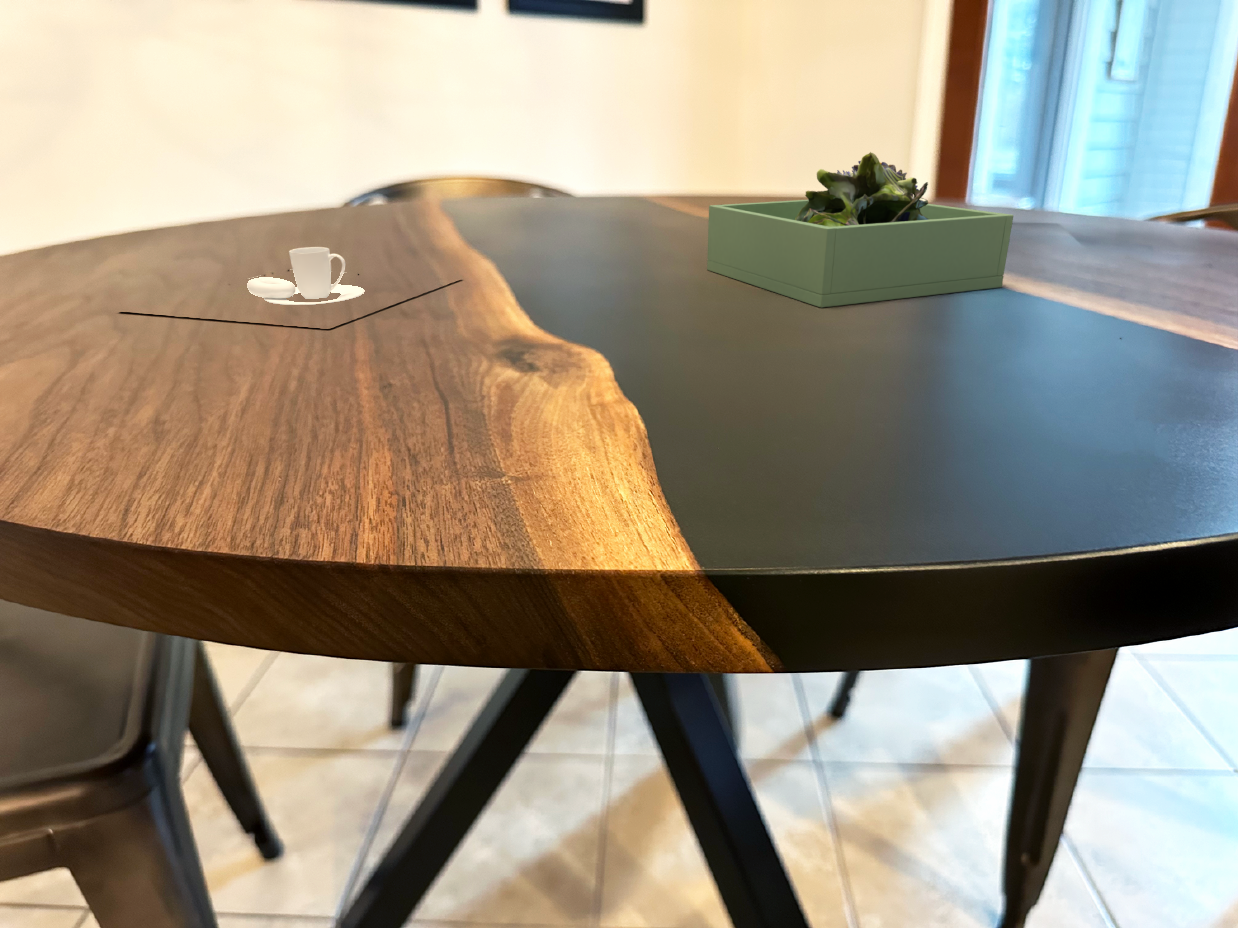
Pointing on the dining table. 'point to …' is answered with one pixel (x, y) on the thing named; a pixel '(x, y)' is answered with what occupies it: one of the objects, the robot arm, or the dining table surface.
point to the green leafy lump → (864, 196)
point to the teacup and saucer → (305, 280)
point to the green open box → (857, 253)
